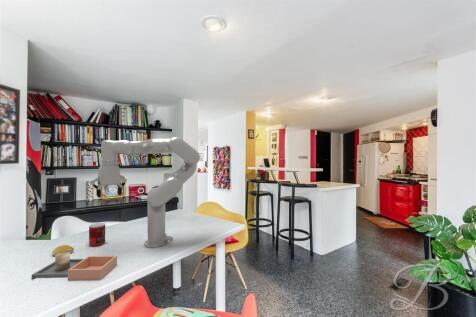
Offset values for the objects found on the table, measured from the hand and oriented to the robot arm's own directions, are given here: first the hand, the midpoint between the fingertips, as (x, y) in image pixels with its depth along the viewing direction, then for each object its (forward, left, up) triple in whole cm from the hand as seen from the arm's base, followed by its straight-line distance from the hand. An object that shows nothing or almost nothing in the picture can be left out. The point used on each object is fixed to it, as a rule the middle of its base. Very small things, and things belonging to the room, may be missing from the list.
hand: (109, 196), depth 119 cm
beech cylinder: (+8, +22, -28) cm, 36 cm away
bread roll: (+21, +4, -29) cm, 36 cm away
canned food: (+11, -8, -28) cm, 32 cm away
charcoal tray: (+8, +22, -28) cm, 37 cm away
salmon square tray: (-7, +25, -28) cm, 38 cm away
